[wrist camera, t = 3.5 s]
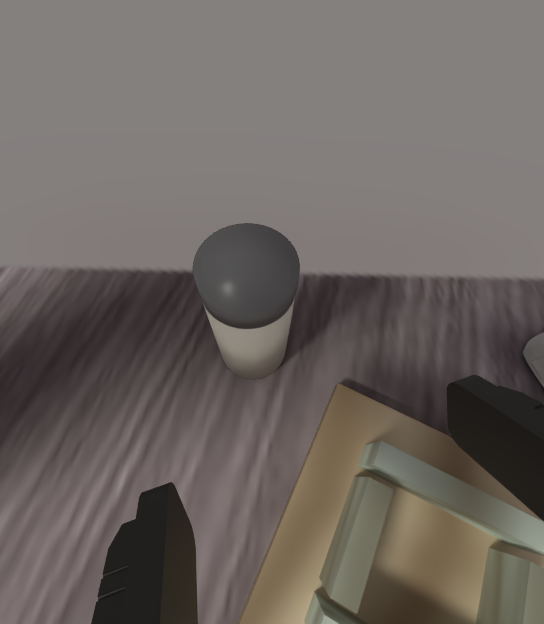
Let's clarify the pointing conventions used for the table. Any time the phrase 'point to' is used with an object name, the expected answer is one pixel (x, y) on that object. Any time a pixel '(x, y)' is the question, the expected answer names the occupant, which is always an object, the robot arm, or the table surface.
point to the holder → (397, 531)
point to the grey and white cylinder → (248, 295)
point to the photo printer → (536, 356)
